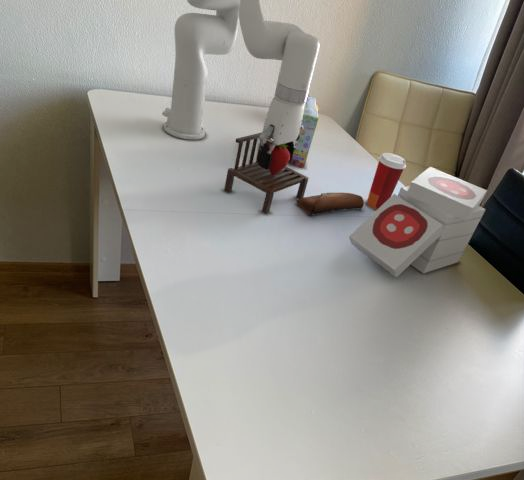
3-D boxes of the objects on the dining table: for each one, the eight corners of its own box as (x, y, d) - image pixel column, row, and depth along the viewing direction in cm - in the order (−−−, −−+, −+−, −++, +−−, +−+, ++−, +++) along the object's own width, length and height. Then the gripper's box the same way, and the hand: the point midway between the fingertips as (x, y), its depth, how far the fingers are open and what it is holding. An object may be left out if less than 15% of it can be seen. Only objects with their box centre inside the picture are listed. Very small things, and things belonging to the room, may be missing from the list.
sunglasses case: (343, 195, 151) (357, 181, 146) (352, 217, 150) (367, 204, 145) (293, 200, 142) (306, 186, 136) (303, 223, 141) (317, 210, 135)
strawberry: (273, 182, 134) (282, 143, 128) (254, 169, 138) (262, 130, 131) (290, 180, 138) (299, 141, 131) (271, 167, 141) (280, 129, 135)
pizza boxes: (338, 246, 129) (363, 175, 117) (414, 228, 146) (442, 165, 134) (396, 290, 119) (429, 217, 107) (470, 265, 136) (505, 200, 125)
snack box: (305, 168, 162) (319, 118, 152) (287, 164, 161) (300, 113, 152) (303, 144, 178) (316, 96, 168) (287, 140, 177) (298, 92, 168)
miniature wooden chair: (224, 190, 138) (233, 138, 130) (263, 177, 150) (273, 128, 141) (266, 214, 134) (278, 161, 125) (302, 198, 145) (316, 149, 136)
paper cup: (390, 205, 155) (409, 158, 146) (386, 215, 149) (405, 167, 140) (365, 196, 156) (382, 149, 147) (360, 205, 150) (377, 157, 141)
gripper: (298, 84, 132) (282, 152, 143) (256, 91, 120) (242, 164, 131) (323, 95, 129) (304, 163, 140) (282, 103, 118) (266, 176, 129)
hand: (274, 163), depth 136 cm, fingers open, 9 cm apart
